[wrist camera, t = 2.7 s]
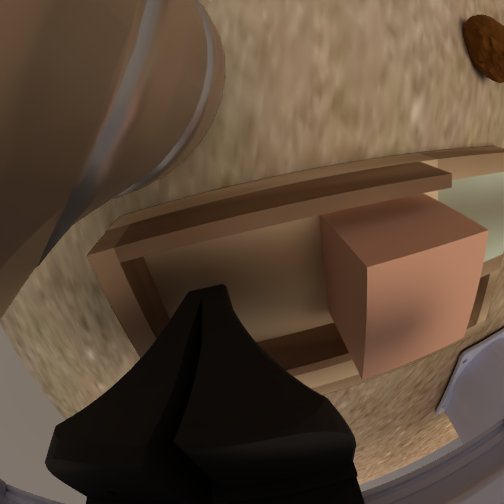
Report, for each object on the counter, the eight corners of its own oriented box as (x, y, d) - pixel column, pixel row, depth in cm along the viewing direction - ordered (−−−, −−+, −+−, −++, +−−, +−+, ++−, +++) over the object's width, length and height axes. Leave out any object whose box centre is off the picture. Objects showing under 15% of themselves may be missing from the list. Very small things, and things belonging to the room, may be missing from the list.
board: (470, 317, 17) (497, 347, 13) (204, 399, 17) (204, 447, 13) (494, 145, 11) (541, 161, 8) (119, 216, 11) (86, 255, 8)
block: (415, 284, 12) (463, 337, 9) (328, 311, 12) (362, 380, 9) (420, 191, 10) (488, 230, 7) (318, 212, 10) (367, 267, 7)
